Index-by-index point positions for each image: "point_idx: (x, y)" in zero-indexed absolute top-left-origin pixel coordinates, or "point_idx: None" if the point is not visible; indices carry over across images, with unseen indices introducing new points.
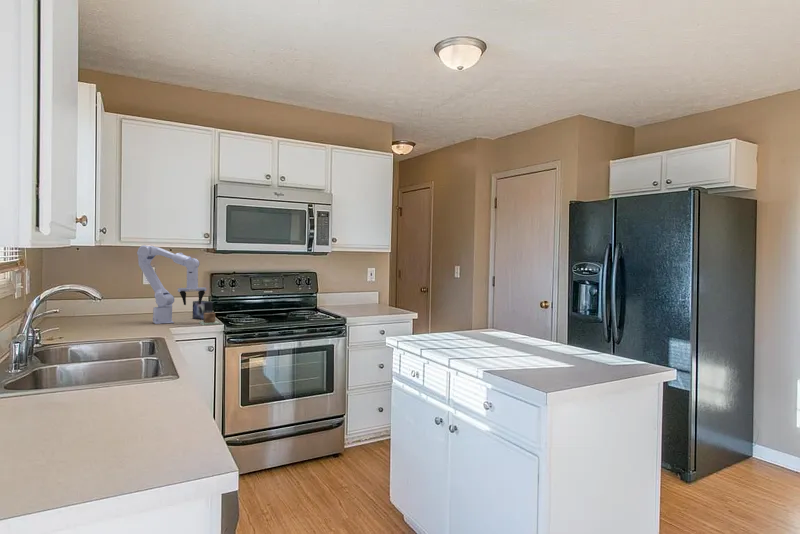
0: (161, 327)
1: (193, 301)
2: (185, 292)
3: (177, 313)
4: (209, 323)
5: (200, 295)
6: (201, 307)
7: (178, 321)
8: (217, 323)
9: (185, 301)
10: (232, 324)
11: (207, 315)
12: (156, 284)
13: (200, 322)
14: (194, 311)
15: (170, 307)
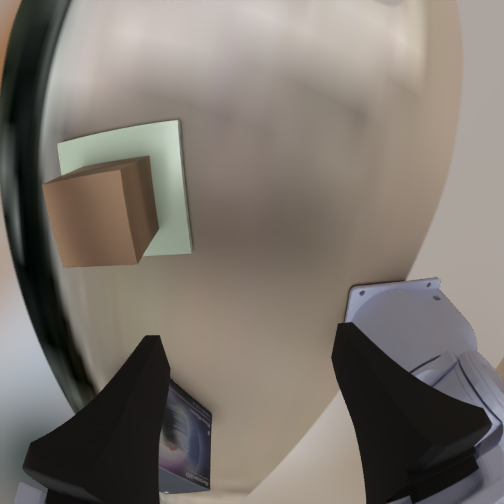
0: (453, 122)
1: (206, 489)
2: (409, 478)
3: (247, 484)
4: (125, 128)
5: (109, 430)
6: (160, 435)
7: (301, 351)
8: (73, 139)
9: (364, 349)
10: (8, 115)
11: (111, 168)
12: None
13: (184, 198)
14: (202, 437)
15: (409, 368)
